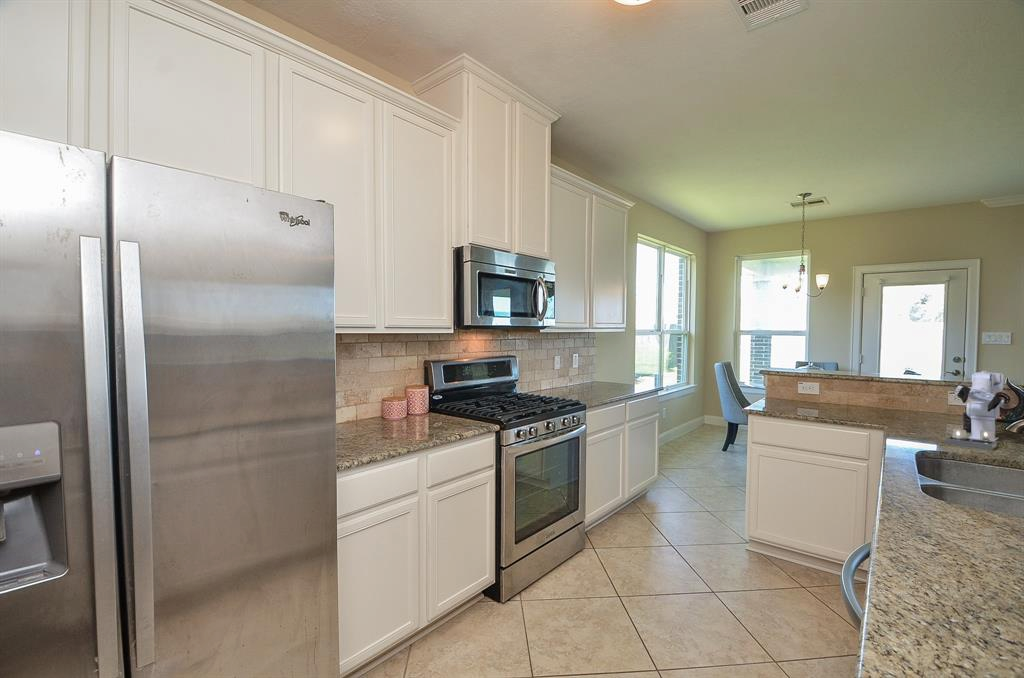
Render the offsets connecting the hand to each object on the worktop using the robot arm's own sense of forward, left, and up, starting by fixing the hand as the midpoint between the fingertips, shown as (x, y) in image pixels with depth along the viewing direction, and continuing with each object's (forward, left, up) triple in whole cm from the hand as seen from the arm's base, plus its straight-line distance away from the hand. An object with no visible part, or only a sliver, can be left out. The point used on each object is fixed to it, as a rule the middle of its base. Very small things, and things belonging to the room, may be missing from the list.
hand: (977, 405), depth 184 cm
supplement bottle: (-38, -7, -17) cm, 42 cm away
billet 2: (-5, +2, -17) cm, 18 cm away
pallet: (+4, -1, -17) cm, 17 cm away
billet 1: (+4, -5, -16) cm, 18 cm away
